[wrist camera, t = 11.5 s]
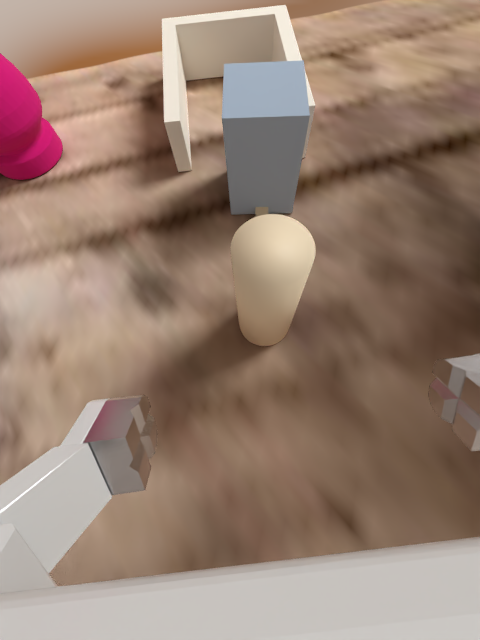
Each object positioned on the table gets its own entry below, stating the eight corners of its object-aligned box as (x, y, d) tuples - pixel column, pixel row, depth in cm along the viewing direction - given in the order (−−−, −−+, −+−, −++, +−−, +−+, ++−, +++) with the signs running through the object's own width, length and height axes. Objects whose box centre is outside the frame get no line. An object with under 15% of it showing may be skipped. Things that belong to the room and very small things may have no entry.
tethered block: (232, 168, 26) (222, 44, 18) (288, 167, 26) (306, 40, 17) (228, 346, 20) (212, 287, 12) (301, 345, 20) (337, 285, 12)
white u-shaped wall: (174, 74, 31) (161, 18, 27) (281, 62, 31) (285, 5, 27) (178, 171, 26) (164, 122, 22) (305, 157, 26) (315, 105, 22)
